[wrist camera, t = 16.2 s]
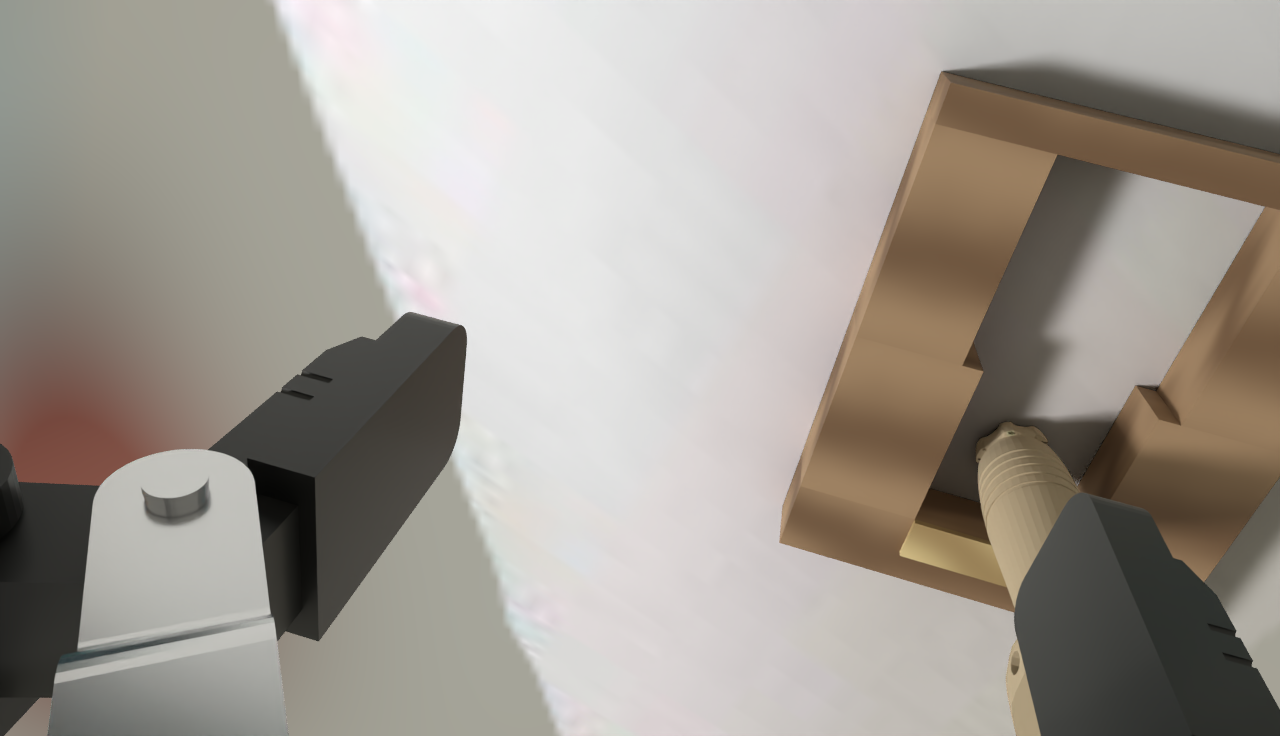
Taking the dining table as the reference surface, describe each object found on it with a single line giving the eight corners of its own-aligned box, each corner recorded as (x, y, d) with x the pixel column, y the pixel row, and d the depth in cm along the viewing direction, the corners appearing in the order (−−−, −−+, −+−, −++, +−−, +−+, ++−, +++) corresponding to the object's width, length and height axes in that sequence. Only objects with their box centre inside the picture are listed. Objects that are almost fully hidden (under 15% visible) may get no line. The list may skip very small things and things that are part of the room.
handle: (1088, 399, 37) (1226, 644, 24) (1040, 513, 40) (1140, 786, 27) (978, 378, 38) (1055, 607, 25) (938, 492, 41) (988, 749, 28)
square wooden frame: (941, 71, 33) (951, 83, 30) (1417, 187, 31) (1477, 212, 28) (782, 506, 43) (779, 546, 40) (1132, 608, 42) (1154, 658, 39)
